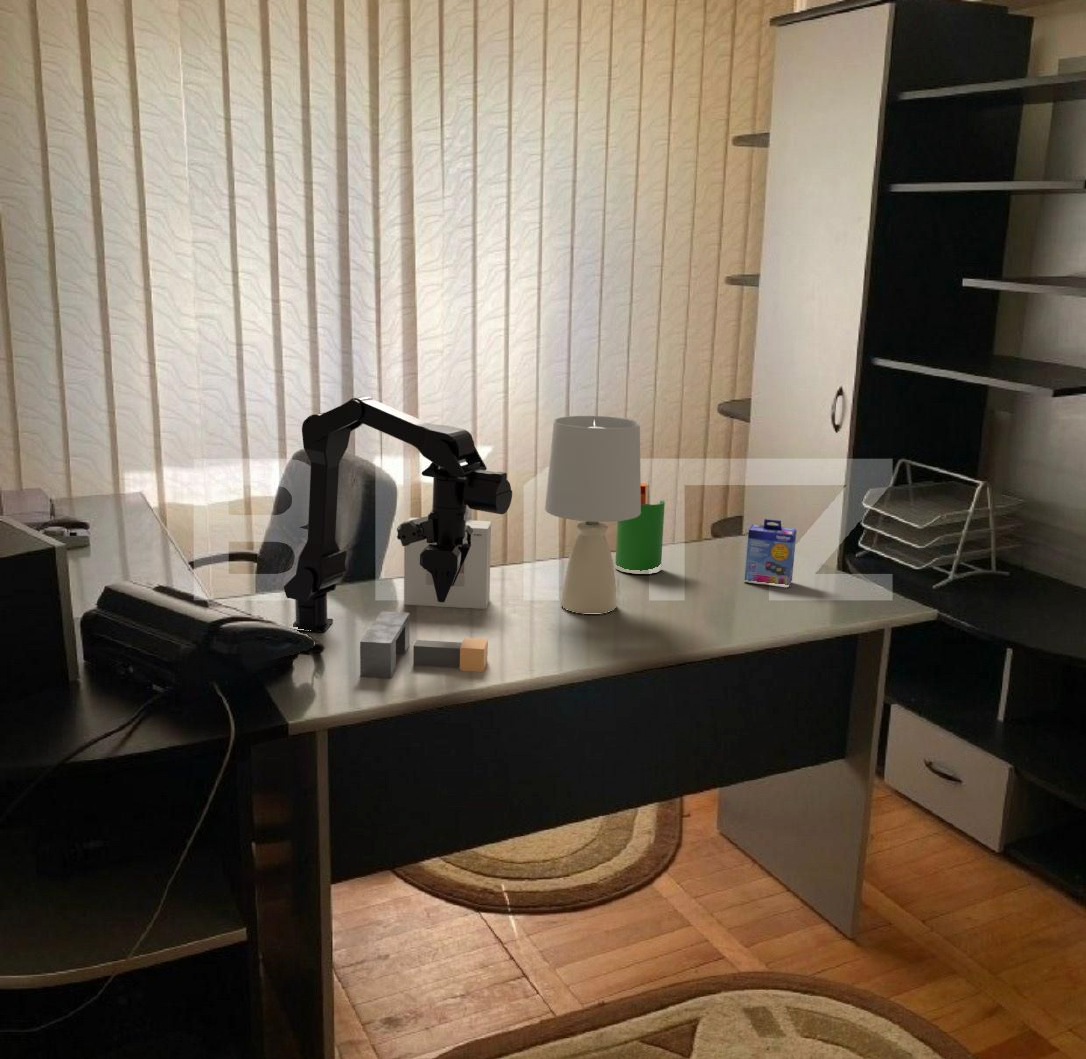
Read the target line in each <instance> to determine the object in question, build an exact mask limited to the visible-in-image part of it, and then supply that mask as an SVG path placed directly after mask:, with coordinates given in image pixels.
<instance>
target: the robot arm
mask: <svg viewBox="0 0 1086 1059" xmlns="http://www.w3.org/2000/svg"><path fill="white" fill-rule="evenodd" d="M362 425H365V426H368V427H370V428H372V429H375V430H377V431H379V432H381V433H383V434H385V435H388V436H390V437H393V438H395V439H397V440H400V441H401V442H403V443H406V444H409V445H411V446H413V447H414V448H415V449H417V450H418V452H419V453H420V454H421V456H422V457H423V458H425V459H426V460H428V461H430V464H429V465H428V467H427V468H425V469H424V470H423V471H422V472H421V476H423V477H429V478H433V480H432V481H433V482H432V484H433V485H432V509H431V511H430V512H429V513H427V514H428V515H426V516H422V517H417V518H418V519H414V520H410V521H407V520H406V521H404V522H402V523H400V524H399V525H398V526H397V528H396V532H397V536H396V538H397V540H399V541H400V543H401V546H402V547H404V546H407V545H409V544H410V543H414V542H418V541H421V540H425V539H427V543H436V545H435V544H429V545H428V546H427V547H426V548H424V550H423V551H422V552H421V554H420V566H422V567H423V569H426V570H427V571H428V572H430V573H431V575H432V578H433V582H434V587H435V591H436V596H437V600H438V602H442V603H443V602H445V600H446V597H447V595H448V593H449V590H450V588H451V586H454V584H455V581H456V579H457V577H458V575H459V572H460V570H461V568H462V566H463V563H464V561H465V559H466V557H467V555H468V552H469V550H470V548H471V546H472V545H471V544H472V542H473V536H474V530H473V529H472V528H471V527H470V526H469V525H466V517H467V516H468V509H467V505H468V507H469V508H470V509H472V511H473V510H475V511H479V512H484V513H485V512H486V513H489V514H490V513H491V514H496V515H505V514H506V513H507V512H508V510H509V509H510V506H511V504H512V500H513V499H512V498H513V490H512V487H511V483H510V482H509V480H508V479H507V477H508V473H507V472H505V471H490V470H487V469H488V468H487V466H486V464H485V462H484V460H483V459H482V457H481V455H480V454H479V452H478V449H477V448H476V447H475V441H474V439H473V435H472V433H470V432H469V431H468V430H466V429H464V428H460V427H454V426H450V425H444V424H436V423H435V424H434V423H429V422H426V421H424V420H422V419H420V418H417V417H415V416H413V415H410V414H408V413H406V412H403V411H400V410H398V409H396V408H394V407H391V406H389V405H387V404H385V403H383V402H380V401H378V400H376V399H375V398H373V397H371V396H368V395H365V396H359V397H353V398H351V399H349V400H348V401H347V402H345V403H343V404H341V405H338V406H337V407H334V408H333V409H330V410H327V411H326V412H321V413H315V414H312V415H309V416H307V418H306V419H304V420H303V421H302V426H301V434H302V436H301V437H302V445H303V449H304V451H305V452H304V453H306V455H307V457H308V460H309V462H310V472H309V474H310V475H309V496H308V499H309V500H308V519H307V522H308V523H307V538H306V541H305V545H304V546H303V548H302V550H301V552H300V554H299V556H298V558H297V566H296V570H295V575H294V576H292V578H290V579H289V581H288V582H286V584H285V585H283V590H284V594H285V596H286V598H287V599H292V600H295V601H294V602H295V621H294V622H293V623H292V624H293V627H298V629H304V630H309V631H308V632H312V631H322V632H321V633H325V632H326V631H327V630H326V629H327V628H329V627H330V626H331V625H332V624H333V622H334V619H333V618H328V593H330V592H333V591H336V589H337V584H338V582H340V580H342V578H343V576H344V573H346V572H347V566H346V560H347V551H346V550H343V549H342V550H341V549H340V547H339V545H338V544H337V541H336V530H337V528H336V527H337V513H338V512H337V510H338V495H339V494H338V492H339V491H338V490H339V471H340V462H341V461H342V459H343V457H344V455H345V453H346V451H347V449H348V447H349V441H350V438H351V433H352V431H355V430H356V429H358V428H360V427H362ZM463 463H465V464H463ZM465 540H467V542H468V544H467V543H464V542H465ZM331 623H332V624H331ZM330 624H331V625H330ZM310 630H311V631H310ZM325 630H326V631H325ZM324 631H325V632H324Z"/></svg>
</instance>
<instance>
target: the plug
mask: <svg viewBox="0 0 1086 1059" xmlns="http://www.w3.org/2000/svg"><path fill="white" fill-rule="evenodd" d="M488 643H489V639H488V638H474V637H472V638H471V637H464V638H463V640H462V642H458V641H442V640H441V641H439V640H425V639H421V640H420V639H416V640H415V643H414V644H413V649H412V650H413V651H412V652H413V654H412V656H413V657H412V658H413V660H412V661H413V666H414V667H415V666H417V667H433V668H450V669H451V668H453V669H459V671H463V672H480V673H481V672H483V673H484V671H485V669H486V666H487V663H488V654H489V652H488V649H489V648H488V645H489V644H488Z"/></svg>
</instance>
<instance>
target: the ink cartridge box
mask: <svg viewBox="0 0 1086 1059" xmlns="http://www.w3.org/2000/svg"><path fill="white" fill-rule="evenodd" d="M768 523H773V524H768ZM796 538H797V529H796V528H792V527H791V528H790V527H783V526H782V520H779V519H778V520H776V519H767V518H764V521H763V524H751V525H750V527H749V529H748V533H747V541H746V542H747V543H746V545H747V546H746V557H745V558H746V560H745V568H744V569H745V570H744V578H743V579H744V580H748V581H757V582H766V583H775V584H785V585H790V583H791V581H792V582H793V572H794V563H795V554H796V553H795V552H796V540H797V539H796ZM790 586H791V585H790Z"/></svg>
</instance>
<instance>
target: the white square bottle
mask: <svg viewBox="0 0 1086 1059" xmlns="http://www.w3.org/2000/svg"><path fill="white" fill-rule="evenodd" d="M467 509H468V516H467V517H466V525H469V526H470V527H471V528H472V529H473V530H474V536H473V542H472V544H471V545H472V546H471V548H470V550H469V552H468V555H467V557H466V559H465V561H464V563H463V566H462V568H461V570H460V572H459V575H458V577H457V579H456V581H455V584H454V586H451V588H450V590H449V593H448V595H447V597H446V600H445V602H443V603H442V602H438V600H437V596H436V591H435V587H434V582H433V578H432V575H431V573H430V572H428V571H427V570H426V569H423V567H422V566H420V554H421V552H422V551H423V550H424V548H426V547H427V546H428V545H429V544H435V545H436V543H427V539H425V540H421V541H418V542H414V543H410V544H409V545H407V546H403V548H404V549H403V550H404V552H403V556H404V558H403V561H404V562H403V574H404V576H403V579H404V580H403V584H404V586H403V587H404V588H403V592H404V593H403V605H405V606H420V607H421V606H424V607H425V606H426V607H440V608H441V607H443V608H461V609H462V608H463V609H479V610H480V609H481V610H486V609H487V607H488V606H489V603H490V599H491V597H490V593H491V592H490V590H491V588H490V587H491V555H492V554H491V550H492V549H491V546H492V545H491V542H492V541H491V540H492V521H491V520H489V521H487V520H473V509H470V508H469V507H468V505H467ZM418 518H419V517H409V518H408V519H407V520H406V522H407V521H410V520H414V519H418ZM464 543H467V544H468V542H467V540H465V542H464Z"/></svg>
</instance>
